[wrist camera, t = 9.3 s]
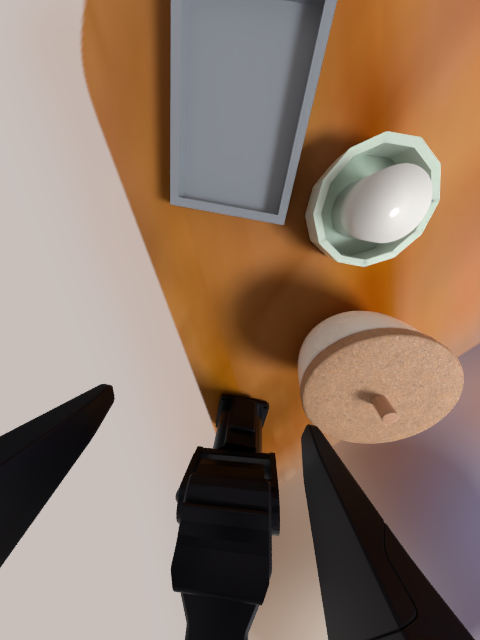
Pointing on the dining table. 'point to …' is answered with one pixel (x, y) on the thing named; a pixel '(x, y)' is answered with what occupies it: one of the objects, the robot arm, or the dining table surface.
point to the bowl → (352, 168)
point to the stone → (383, 204)
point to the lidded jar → (375, 378)
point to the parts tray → (242, 101)
